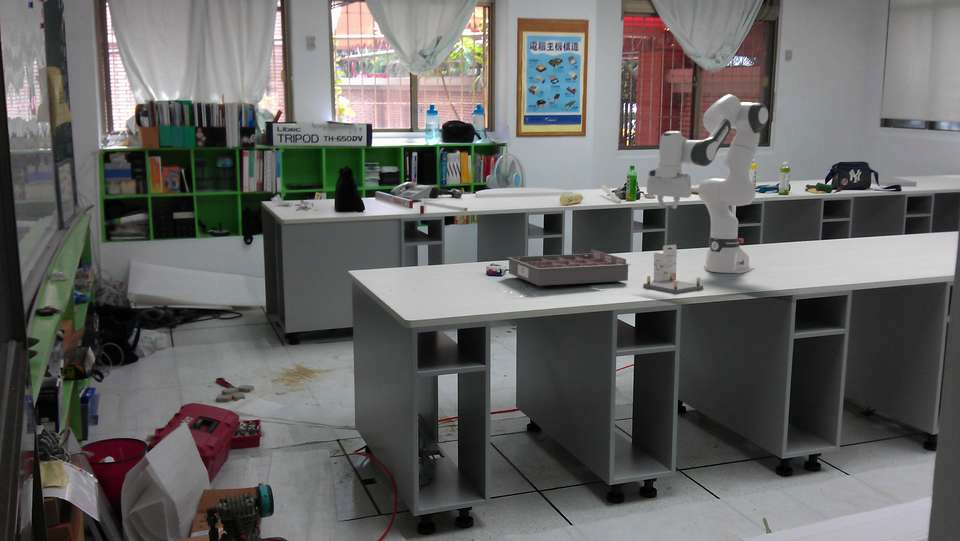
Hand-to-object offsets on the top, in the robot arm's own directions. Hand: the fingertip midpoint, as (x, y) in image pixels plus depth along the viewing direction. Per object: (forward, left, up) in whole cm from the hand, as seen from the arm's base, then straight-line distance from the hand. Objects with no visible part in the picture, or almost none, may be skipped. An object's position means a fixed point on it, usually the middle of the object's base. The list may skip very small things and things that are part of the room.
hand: (667, 207), depth 352 cm
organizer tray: (+29, -26, -30) cm, 49 cm away
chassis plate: (+9, +12, -30) cm, 33 cm away
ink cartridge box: (-2, -2, -30) cm, 30 cm away
